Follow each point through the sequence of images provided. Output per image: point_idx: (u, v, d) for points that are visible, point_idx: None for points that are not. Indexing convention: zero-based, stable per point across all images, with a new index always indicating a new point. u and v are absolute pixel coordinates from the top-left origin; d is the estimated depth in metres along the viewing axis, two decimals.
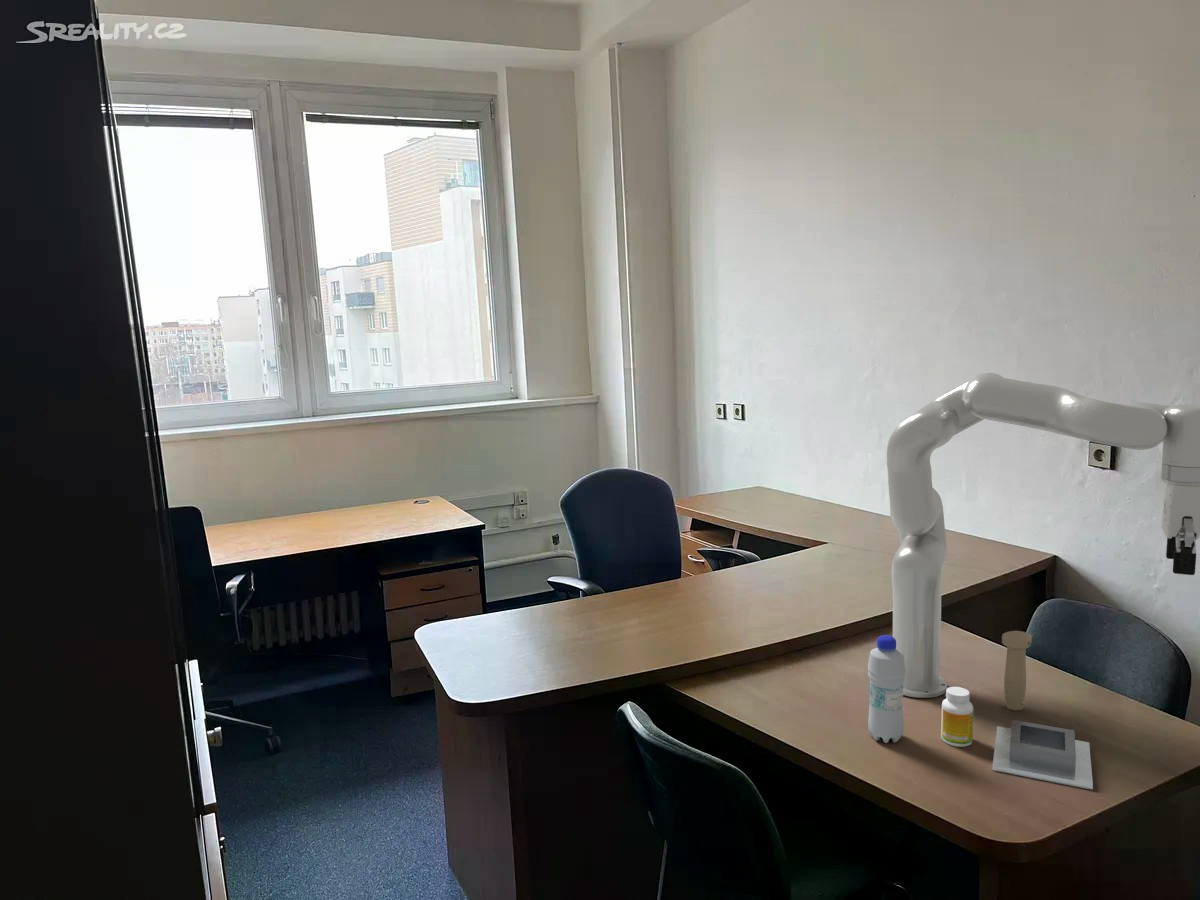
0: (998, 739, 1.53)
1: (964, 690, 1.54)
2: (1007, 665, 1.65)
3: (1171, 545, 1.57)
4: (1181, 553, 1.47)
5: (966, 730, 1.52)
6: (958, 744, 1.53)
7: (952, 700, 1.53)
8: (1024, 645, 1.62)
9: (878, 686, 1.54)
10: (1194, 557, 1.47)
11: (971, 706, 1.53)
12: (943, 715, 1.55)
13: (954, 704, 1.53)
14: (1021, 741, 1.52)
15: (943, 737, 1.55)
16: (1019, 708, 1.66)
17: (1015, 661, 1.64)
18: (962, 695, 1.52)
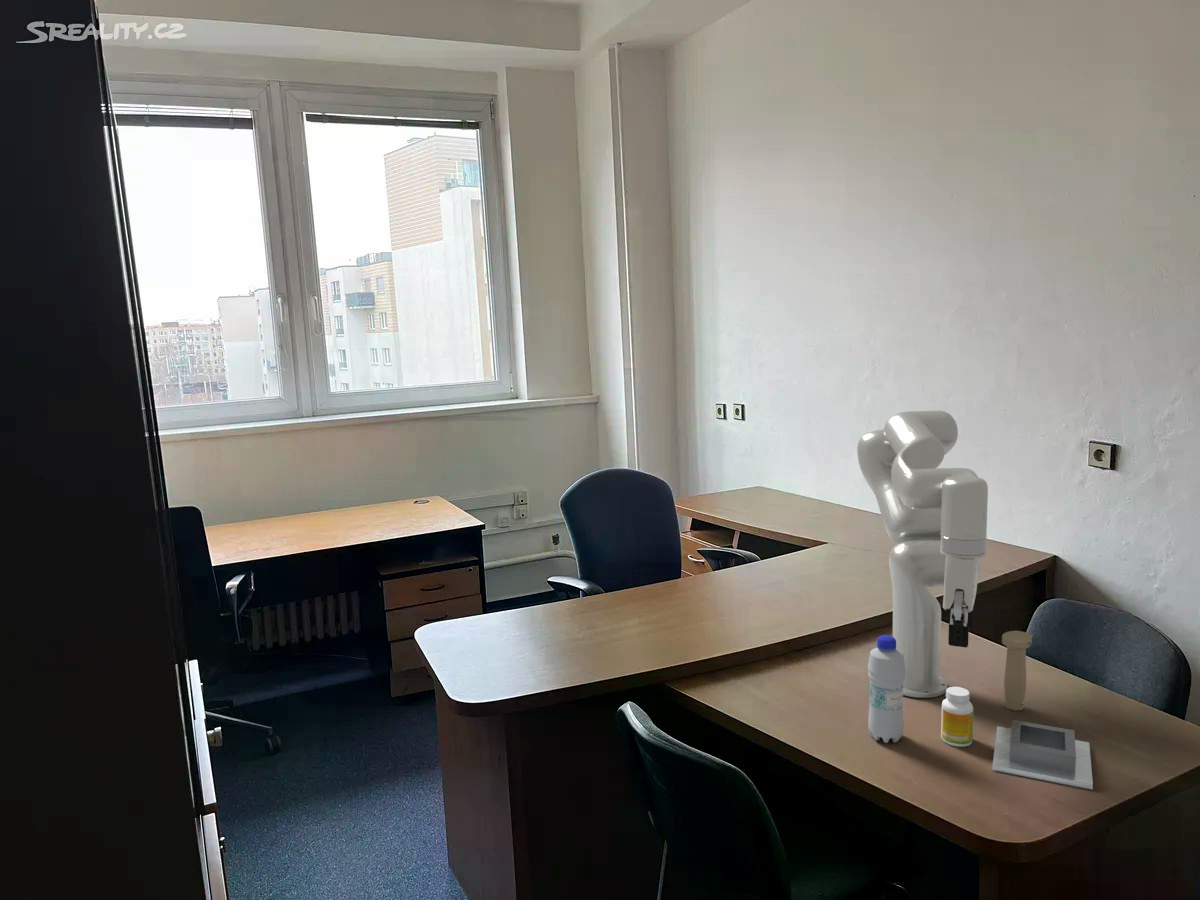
0: (998, 739, 1.53)
1: (964, 690, 1.54)
2: (1007, 665, 1.65)
3: None
4: (954, 626, 1.47)
5: (966, 730, 1.52)
6: (958, 744, 1.53)
7: (952, 700, 1.53)
8: (1024, 645, 1.62)
9: (879, 686, 1.54)
10: (967, 629, 1.47)
11: (971, 706, 1.53)
12: (943, 715, 1.55)
13: (954, 704, 1.53)
14: (1021, 741, 1.52)
15: (943, 737, 1.55)
16: (1019, 708, 1.66)
17: (1015, 661, 1.64)
18: (962, 695, 1.52)
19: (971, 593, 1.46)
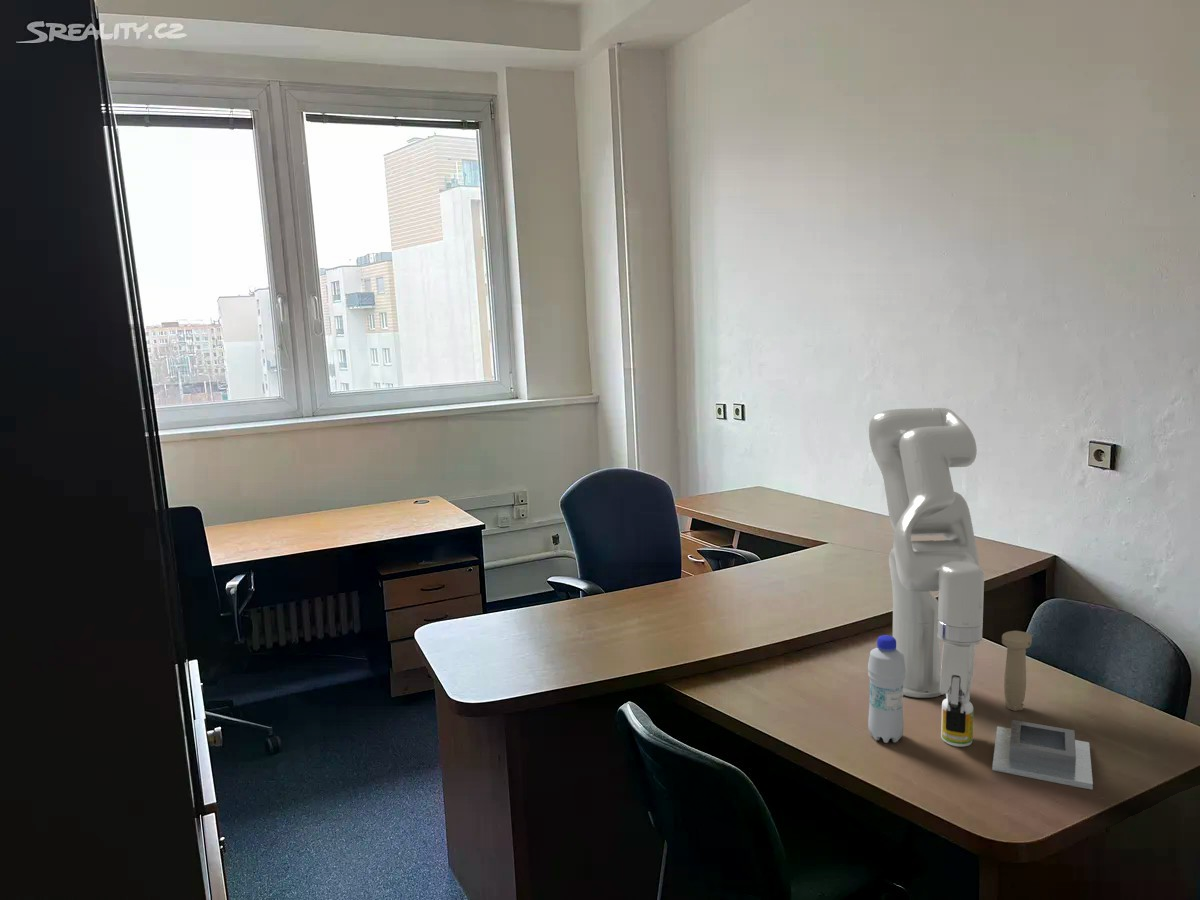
0: (998, 739, 1.53)
1: None
2: (1007, 665, 1.65)
3: None
4: (951, 712, 1.51)
5: (966, 730, 1.52)
6: (958, 744, 1.53)
7: None
8: (1024, 645, 1.62)
9: (879, 686, 1.54)
10: (964, 716, 1.51)
11: (971, 706, 1.53)
12: (943, 715, 1.55)
13: None
14: (1021, 741, 1.52)
15: (943, 737, 1.55)
16: (1019, 708, 1.66)
17: (1015, 661, 1.64)
18: None
19: (967, 680, 1.48)
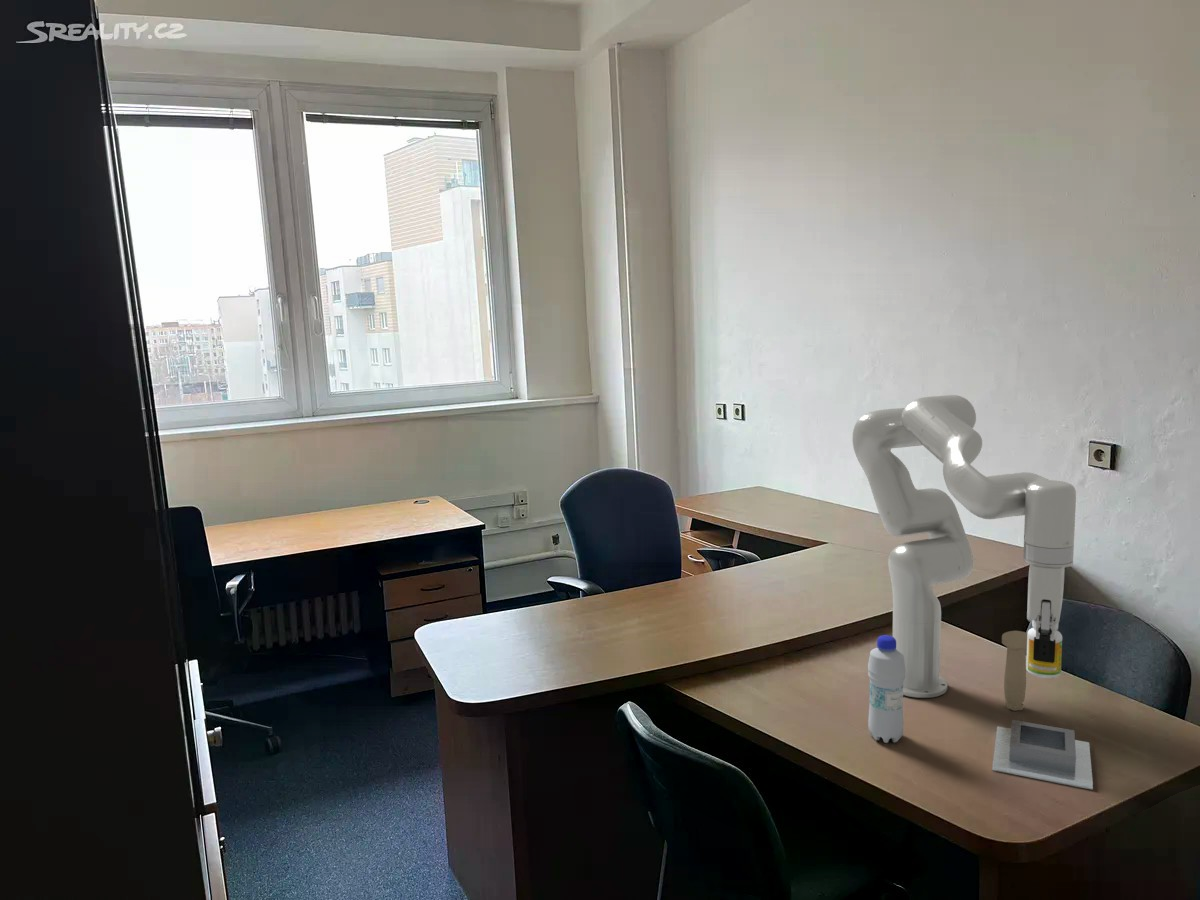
0: (998, 739, 1.53)
1: None
2: (1007, 665, 1.65)
3: None
4: (1040, 640, 1.41)
5: (1055, 660, 1.43)
6: (1046, 675, 1.43)
7: None
8: (1024, 645, 1.62)
9: (879, 686, 1.54)
10: (1054, 644, 1.41)
11: (1060, 635, 1.43)
12: (1029, 645, 1.45)
13: None
14: (1021, 741, 1.52)
15: (1029, 669, 1.45)
16: (1019, 708, 1.66)
17: (1014, 661, 1.64)
18: None
19: (1059, 604, 1.39)
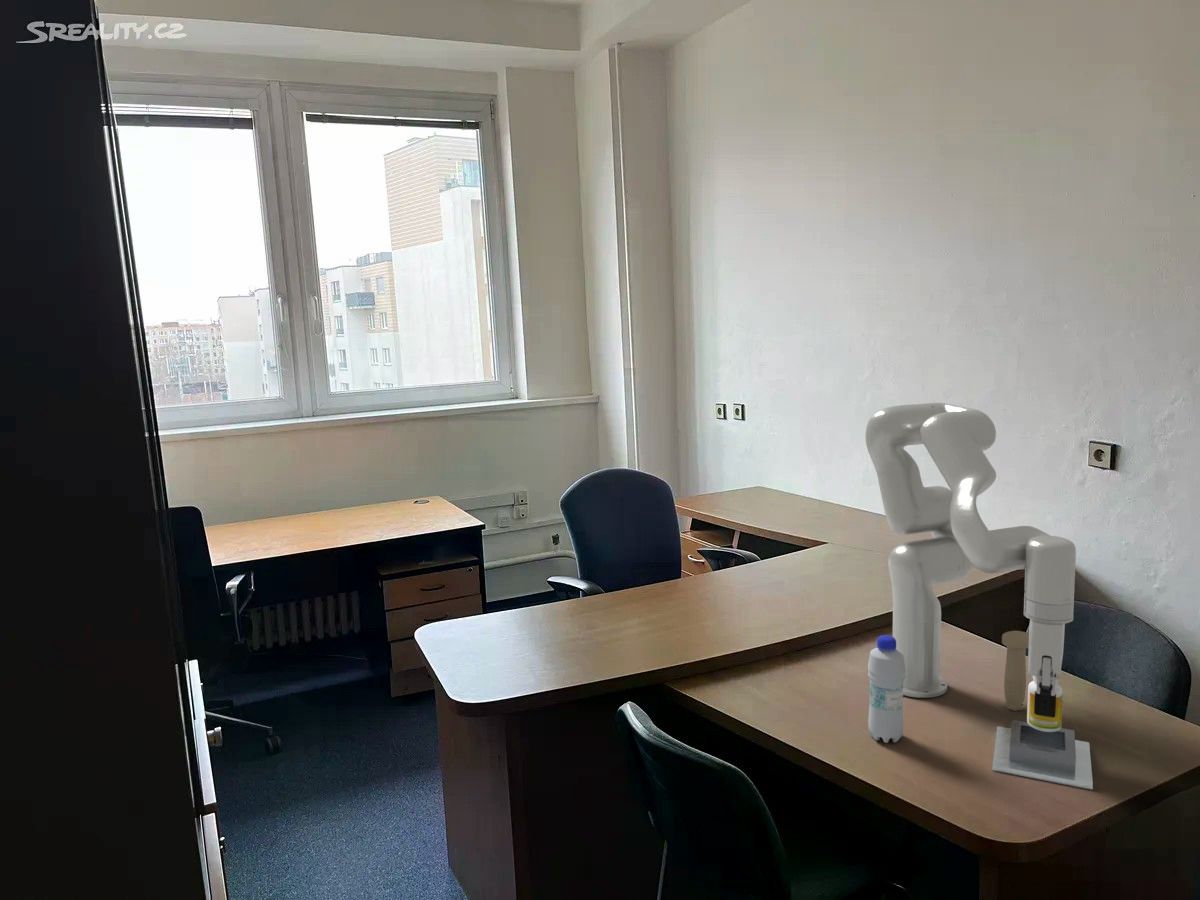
0: (998, 739, 1.53)
1: None
2: (1007, 665, 1.65)
3: None
4: (1041, 695, 1.43)
5: (1056, 714, 1.44)
6: (1047, 729, 1.44)
7: (1040, 682, 1.44)
8: (1024, 645, 1.62)
9: (879, 686, 1.54)
10: (1054, 699, 1.42)
11: (1061, 689, 1.45)
12: (1030, 699, 1.46)
13: None
14: (1021, 741, 1.52)
15: (1030, 722, 1.46)
16: (1019, 708, 1.66)
17: (1015, 661, 1.64)
18: None
19: (1059, 660, 1.40)
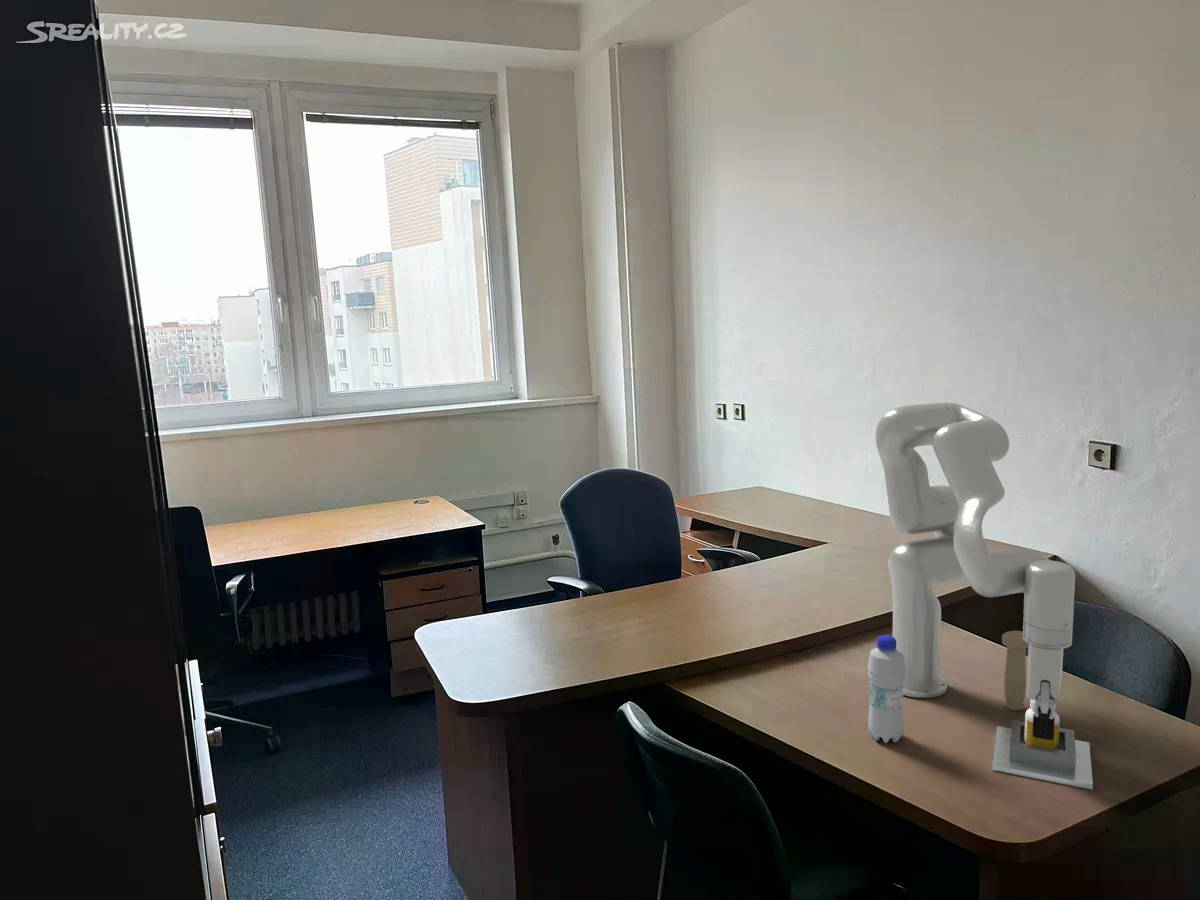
0: (998, 739, 1.53)
1: None
2: (1007, 665, 1.65)
3: None
4: (1039, 718, 1.42)
5: (1053, 741, 1.45)
6: None
7: None
8: (1024, 645, 1.62)
9: (879, 686, 1.54)
10: (1053, 722, 1.42)
11: (1057, 717, 1.46)
12: (1027, 726, 1.47)
13: None
14: (1021, 741, 1.52)
15: None
16: (1019, 708, 1.66)
17: (1015, 661, 1.64)
18: None
19: (1058, 685, 1.41)
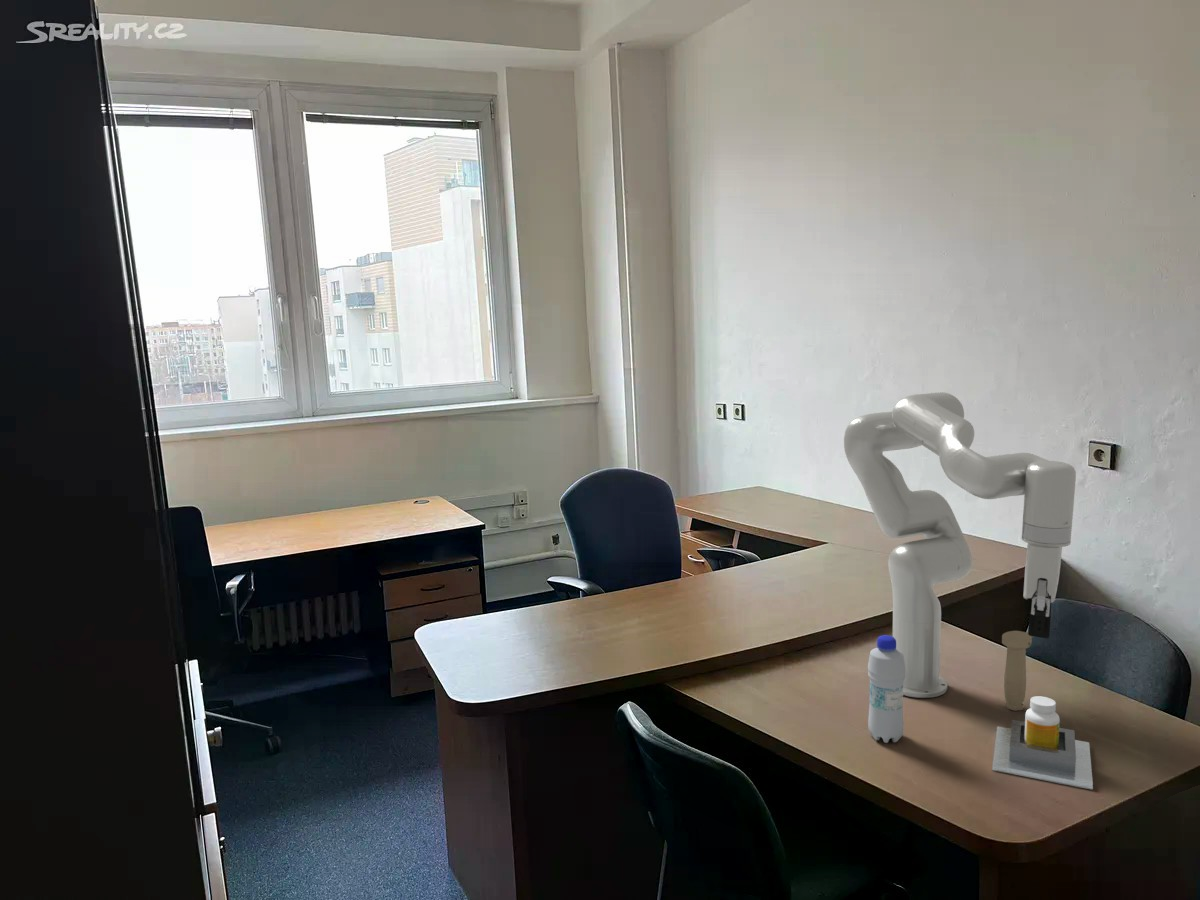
0: (998, 739, 1.53)
1: (1049, 700, 1.47)
2: (1007, 665, 1.65)
3: (1035, 602, 1.51)
4: (1035, 616, 1.42)
5: (1053, 742, 1.45)
6: None
7: (1038, 710, 1.46)
8: (1024, 645, 1.62)
9: (879, 686, 1.54)
10: (1049, 620, 1.42)
11: (1057, 717, 1.46)
12: (1027, 726, 1.47)
13: (1039, 714, 1.46)
14: (1021, 741, 1.52)
15: None
16: (1019, 708, 1.66)
17: (1015, 661, 1.64)
18: (1048, 705, 1.45)
19: (1055, 583, 1.41)
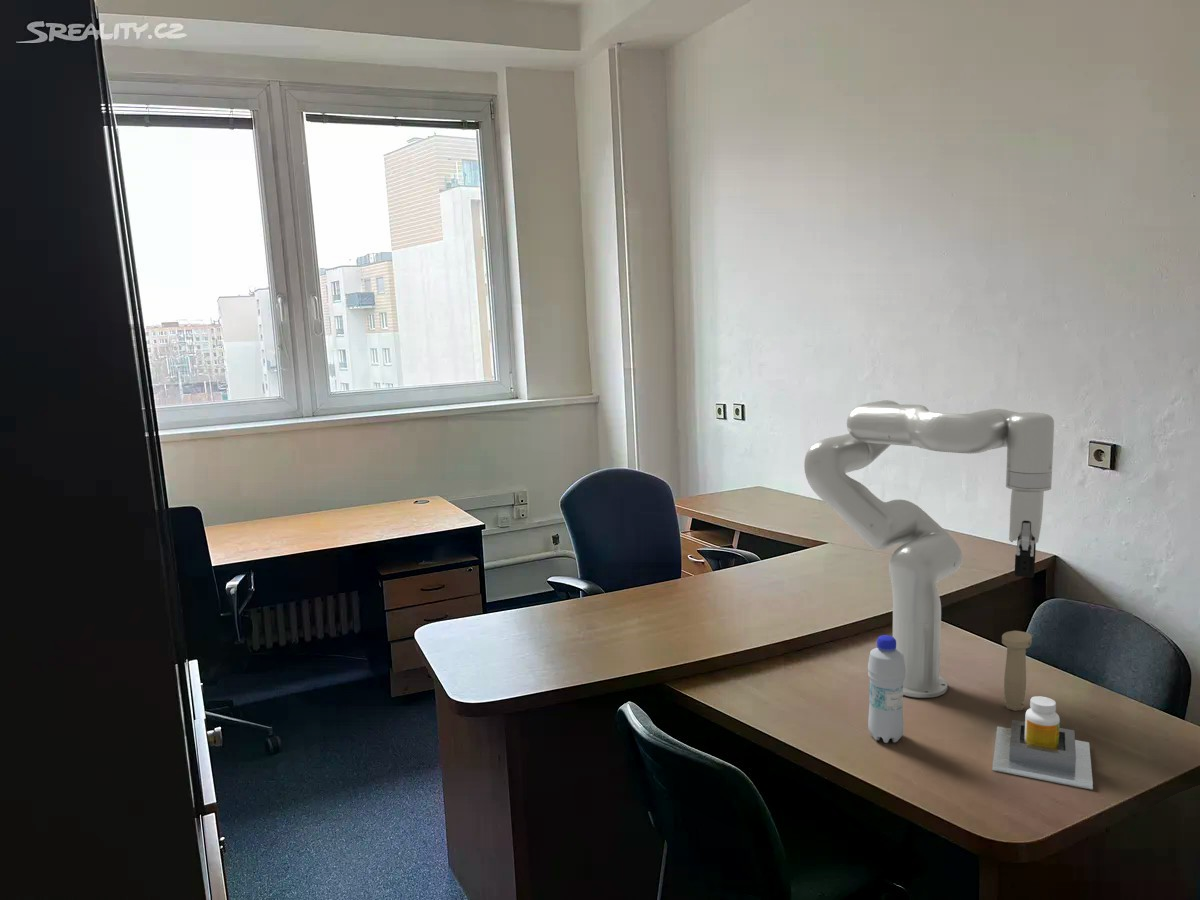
0: (998, 739, 1.53)
1: (1050, 700, 1.47)
2: (1007, 665, 1.65)
3: None
4: (1021, 556, 1.52)
5: (1053, 742, 1.45)
6: None
7: (1038, 710, 1.46)
8: (1024, 645, 1.62)
9: (879, 686, 1.54)
10: (1033, 560, 1.52)
11: (1058, 717, 1.46)
12: (1027, 726, 1.47)
13: (1040, 714, 1.46)
14: (1021, 741, 1.52)
15: None
16: (1019, 708, 1.66)
17: (1015, 661, 1.64)
18: (1048, 705, 1.45)
19: (1038, 524, 1.51)
